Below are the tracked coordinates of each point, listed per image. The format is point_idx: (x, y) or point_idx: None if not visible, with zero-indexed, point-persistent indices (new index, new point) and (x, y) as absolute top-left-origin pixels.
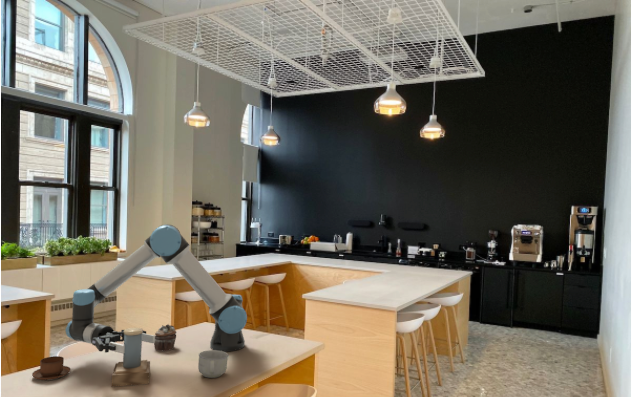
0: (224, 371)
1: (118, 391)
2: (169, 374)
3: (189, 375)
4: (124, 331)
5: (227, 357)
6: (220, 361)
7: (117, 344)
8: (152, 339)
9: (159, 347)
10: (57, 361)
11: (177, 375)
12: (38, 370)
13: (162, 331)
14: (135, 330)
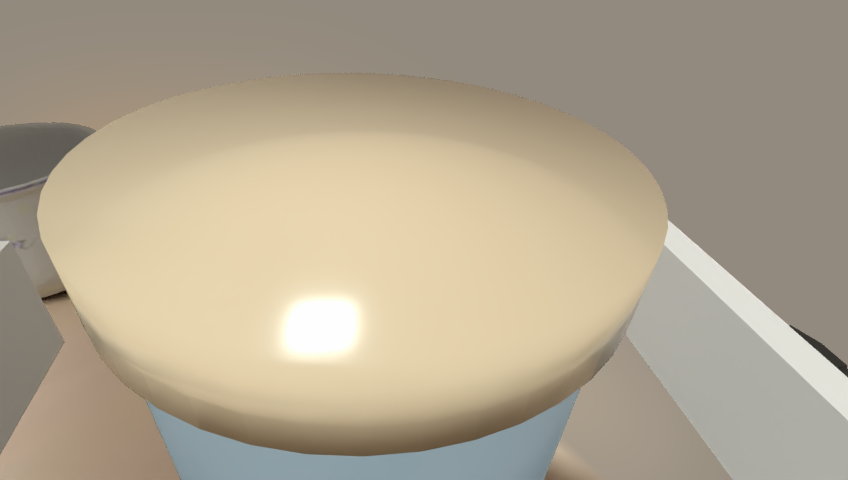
0: None
1: (572, 454)
2: (109, 456)
3: (88, 343)
4: (656, 187)
5: (3, 133)
6: (74, 140)
7: (735, 280)
8: (28, 305)
9: None
10: None
11: (113, 396)
12: None
13: None
14: (364, 118)
